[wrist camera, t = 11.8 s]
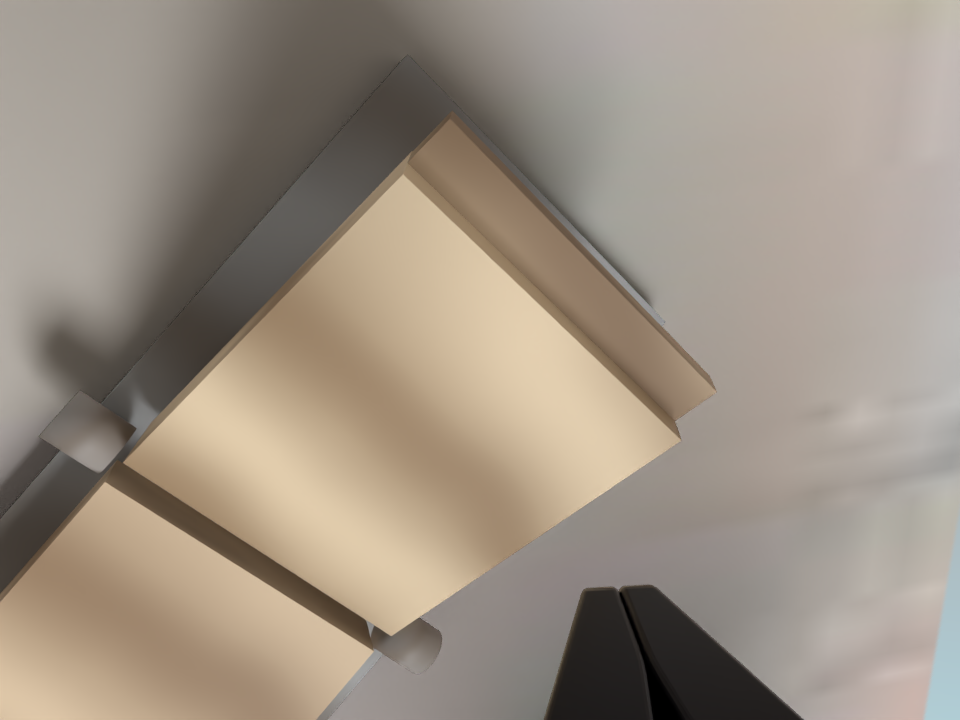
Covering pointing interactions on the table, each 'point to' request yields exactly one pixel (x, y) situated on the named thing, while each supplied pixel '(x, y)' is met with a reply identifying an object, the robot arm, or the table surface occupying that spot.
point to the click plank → (425, 391)
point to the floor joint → (183, 530)
